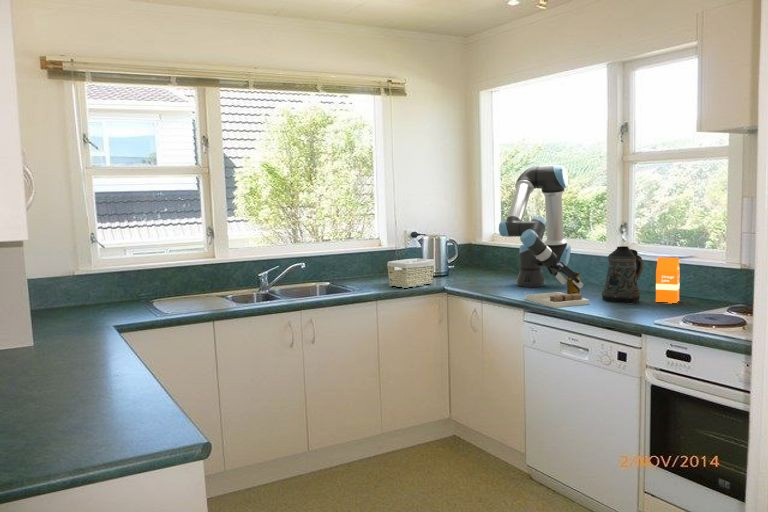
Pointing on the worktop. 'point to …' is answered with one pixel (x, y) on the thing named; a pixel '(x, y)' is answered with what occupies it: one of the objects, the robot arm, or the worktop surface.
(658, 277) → the orange juice
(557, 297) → the block
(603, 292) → the beer stein
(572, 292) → the condiment
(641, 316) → the worktop surface
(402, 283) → the storage basket
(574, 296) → the block
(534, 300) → the tray
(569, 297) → the block
